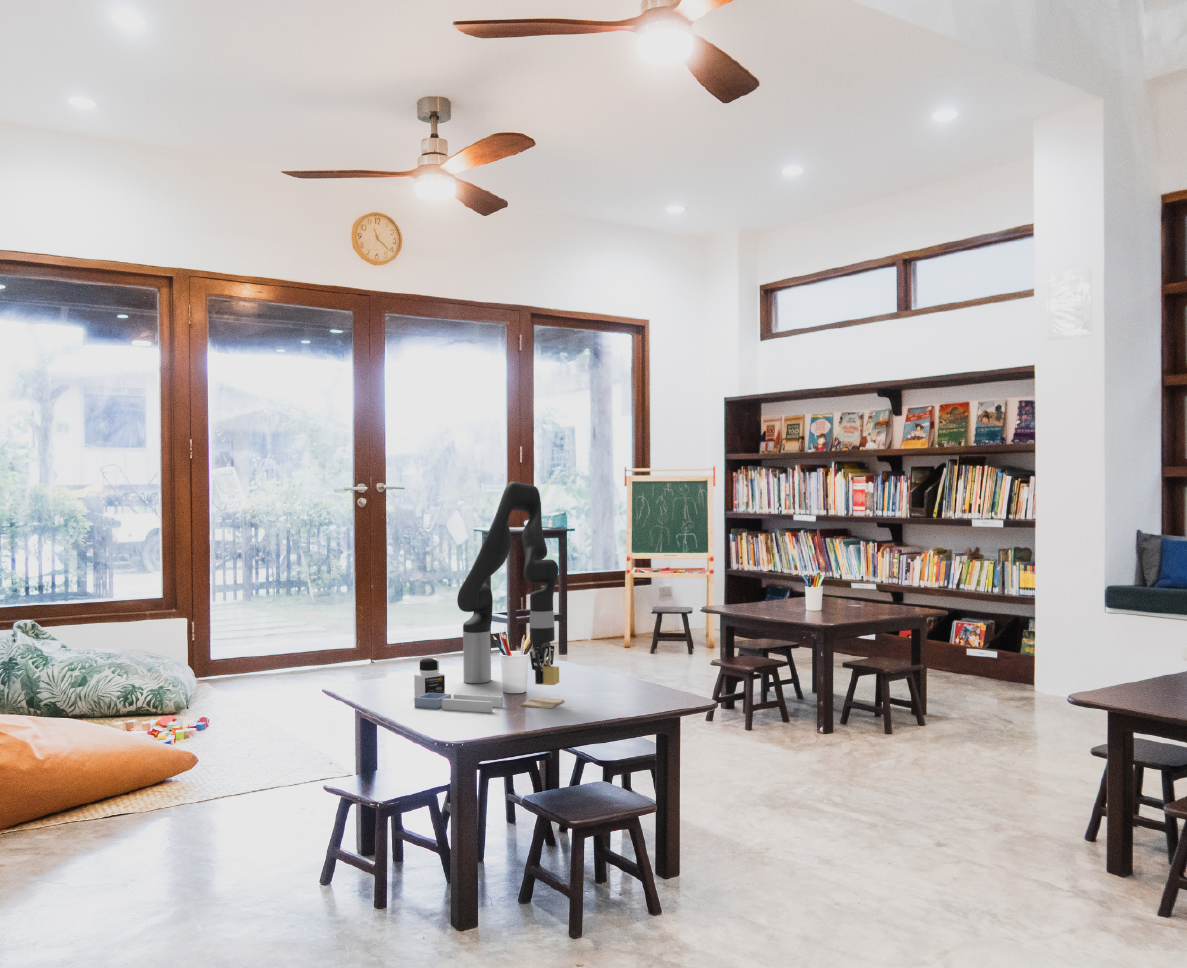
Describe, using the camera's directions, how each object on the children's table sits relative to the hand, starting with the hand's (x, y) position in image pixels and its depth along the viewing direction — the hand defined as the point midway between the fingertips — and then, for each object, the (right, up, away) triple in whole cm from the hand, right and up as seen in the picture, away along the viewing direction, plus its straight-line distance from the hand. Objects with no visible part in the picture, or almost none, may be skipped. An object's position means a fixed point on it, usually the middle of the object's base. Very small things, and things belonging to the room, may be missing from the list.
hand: (542, 681), depth 284 cm
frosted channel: (-21, -7, -4) cm, 22 cm away
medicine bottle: (-37, -8, +13) cm, 40 cm away
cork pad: (0, -7, 0) cm, 7 cm away
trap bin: (-33, -7, 0) cm, 34 cm away
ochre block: (+1, 0, -1) cm, 1 cm away
